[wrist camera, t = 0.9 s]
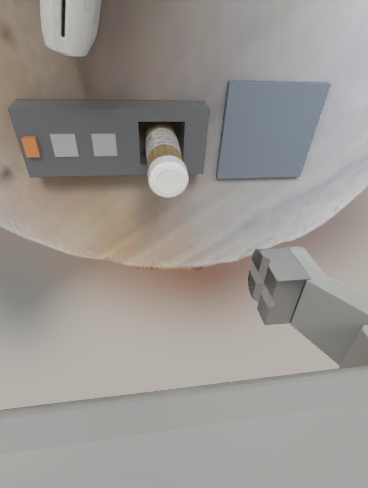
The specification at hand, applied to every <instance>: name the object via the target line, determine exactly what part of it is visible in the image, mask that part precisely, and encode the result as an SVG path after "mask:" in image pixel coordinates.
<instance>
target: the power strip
mask: <svg viewBox="0 0 368 488" xmlns="http://www.w3.org/2000/svg"><path fill="white" fill-rule="evenodd" d="M8 110H9V114H10V117H11V120H12V123H13V126H14V129H15V132H16V135H17V138H18V142H19V145H20V148H21V151H22V154H23V157H24V160H25V163H26V166H27V169H28V173H29V176H30V177H73V176H117V175H147V172H148V165H147V157H146V154H140V147H139V128H138V122H181V145H180V151H181V156H182V160H183V162H184V164H185V166H186V168H187V172H188V174H203V168H204V158H205V147H206V137H207V126H208V116H209V108H208V107H207V105H206V103H205V101H149V100H26V99H16V100H15V101H14V102H13V104H12V105H11V106H10V107H9V108H8Z"/></svg>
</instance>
